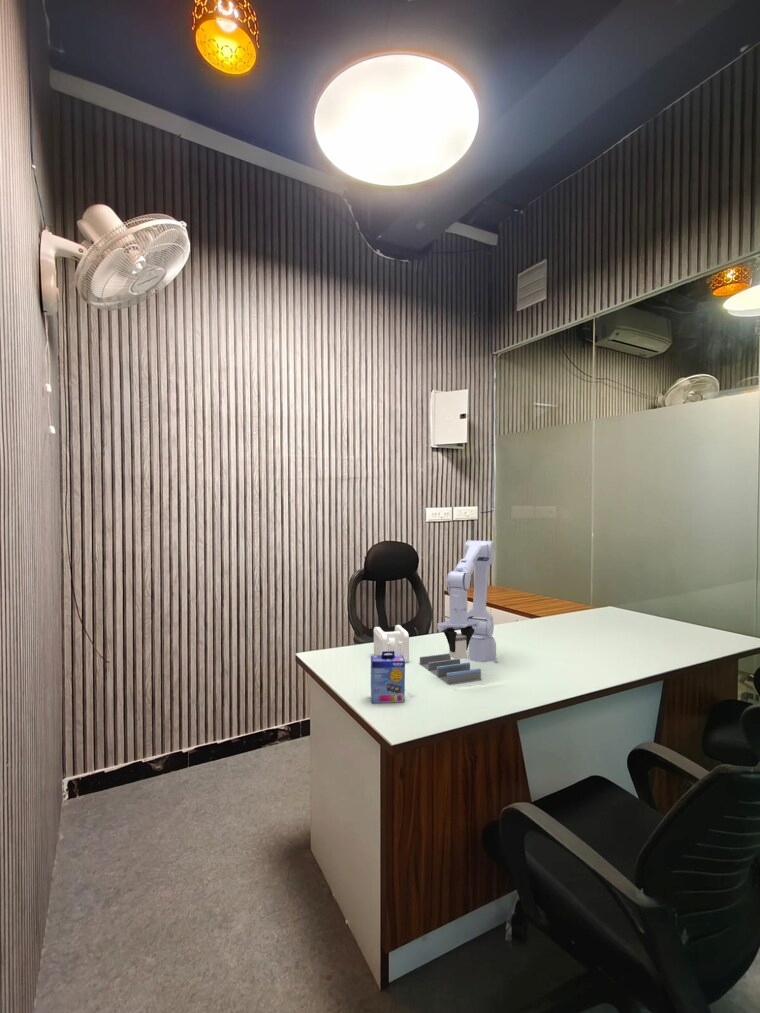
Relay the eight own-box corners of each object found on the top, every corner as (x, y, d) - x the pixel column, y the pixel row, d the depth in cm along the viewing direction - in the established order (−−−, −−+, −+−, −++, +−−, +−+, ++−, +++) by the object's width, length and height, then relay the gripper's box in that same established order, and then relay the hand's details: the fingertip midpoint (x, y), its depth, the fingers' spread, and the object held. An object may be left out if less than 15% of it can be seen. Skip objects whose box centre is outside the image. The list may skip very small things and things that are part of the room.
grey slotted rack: (448, 662, 165) (448, 650, 166) (482, 683, 145) (482, 670, 145) (418, 666, 161) (418, 654, 161) (449, 688, 141) (449, 674, 141)
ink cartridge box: (371, 704, 129) (371, 652, 129) (370, 696, 135) (370, 647, 135) (405, 702, 130) (405, 651, 130) (403, 695, 135) (403, 646, 136)
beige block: (460, 654, 150) (459, 633, 150) (466, 658, 146) (466, 636, 147) (449, 656, 149) (448, 634, 149) (455, 659, 145) (455, 637, 145)
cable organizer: (410, 666, 161) (410, 633, 161) (381, 668, 159) (381, 635, 159) (398, 653, 176) (398, 623, 176) (372, 655, 173) (372, 625, 173)
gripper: (444, 612, 141) (444, 656, 141) (484, 609, 146) (484, 651, 146) (434, 608, 148) (434, 650, 147) (472, 605, 153) (472, 645, 153)
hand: (458, 650), depth 147 cm, fingers closed on beige block, 4 cm apart
